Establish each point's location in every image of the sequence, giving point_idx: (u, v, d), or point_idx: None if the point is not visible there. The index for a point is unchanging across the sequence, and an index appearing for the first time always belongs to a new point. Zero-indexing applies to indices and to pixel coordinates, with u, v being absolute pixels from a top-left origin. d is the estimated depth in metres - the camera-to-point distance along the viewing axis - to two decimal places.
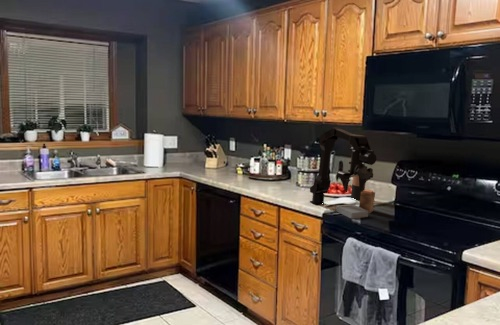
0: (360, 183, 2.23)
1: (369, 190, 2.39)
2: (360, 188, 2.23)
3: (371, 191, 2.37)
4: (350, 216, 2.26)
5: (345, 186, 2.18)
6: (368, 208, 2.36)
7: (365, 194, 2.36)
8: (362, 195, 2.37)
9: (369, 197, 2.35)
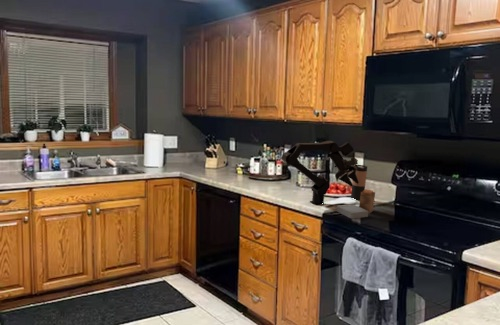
0: (352, 178, 2.47)
1: (369, 190, 2.39)
2: (356, 181, 2.45)
3: (371, 191, 2.37)
4: (350, 216, 2.26)
5: (348, 181, 2.37)
6: (368, 208, 2.36)
7: (365, 194, 2.36)
8: (362, 195, 2.37)
9: (369, 197, 2.35)
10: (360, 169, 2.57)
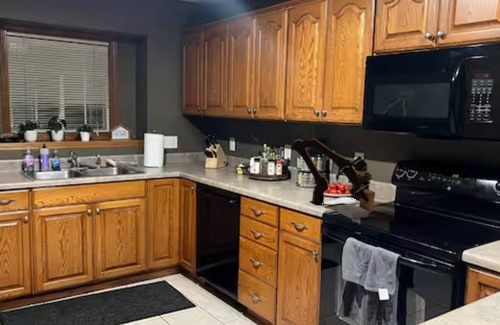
0: None
1: (369, 190, 2.39)
2: None
3: (371, 191, 2.37)
4: (350, 216, 2.26)
5: (364, 196, 2.35)
6: (368, 208, 2.36)
7: None
8: None
9: (369, 197, 2.35)
10: None
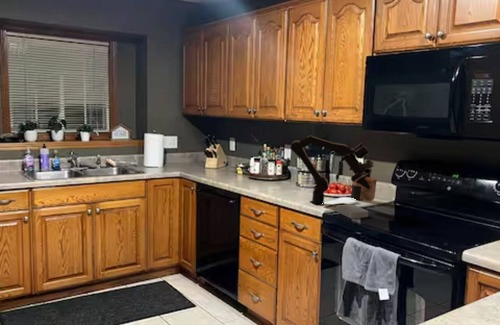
0: None
1: (371, 178, 2.37)
2: None
3: (373, 179, 2.35)
4: (350, 216, 2.26)
5: (365, 184, 2.34)
6: (369, 196, 2.35)
7: None
8: None
9: (370, 185, 2.34)
10: None
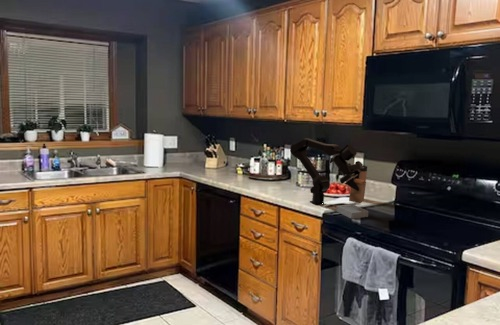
0: None
1: (360, 179, 2.32)
2: None
3: (362, 180, 2.30)
4: (350, 216, 2.26)
5: (355, 185, 2.28)
6: (359, 198, 2.29)
7: (356, 183, 2.29)
8: None
9: (360, 186, 2.28)
10: (360, 169, 2.57)
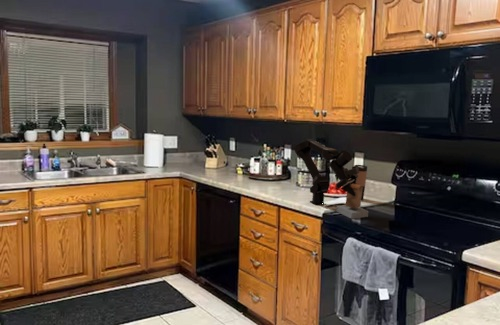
0: None
1: (356, 184, 2.30)
2: None
3: (358, 185, 2.29)
4: (350, 216, 2.26)
5: (351, 191, 2.27)
6: (355, 203, 2.28)
7: None
8: None
9: (356, 192, 2.27)
10: (360, 169, 2.57)
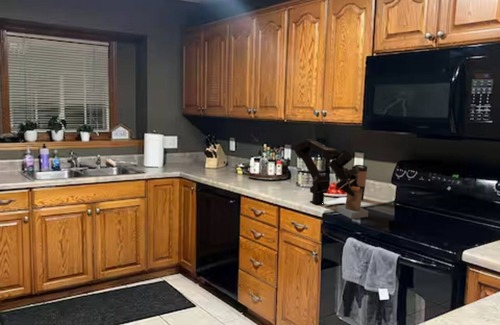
0: None
1: (356, 187, 2.31)
2: None
3: (358, 188, 2.29)
4: (350, 216, 2.26)
5: (350, 191, 2.26)
6: (355, 205, 2.28)
7: None
8: None
9: (356, 194, 2.27)
10: (360, 169, 2.57)
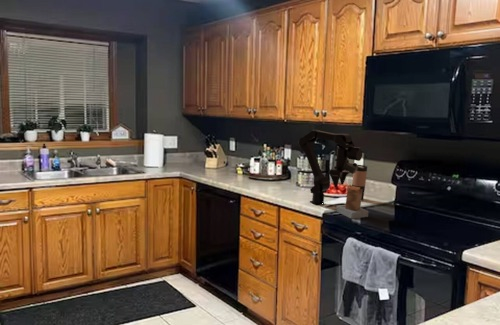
0: (341, 177, 2.41)
1: (356, 187, 2.31)
2: (342, 182, 2.41)
3: (358, 188, 2.29)
4: (350, 216, 2.26)
5: (336, 182, 2.32)
6: (355, 205, 2.28)
7: (352, 191, 2.28)
8: (349, 192, 2.29)
9: (356, 194, 2.27)
10: (360, 169, 2.57)
